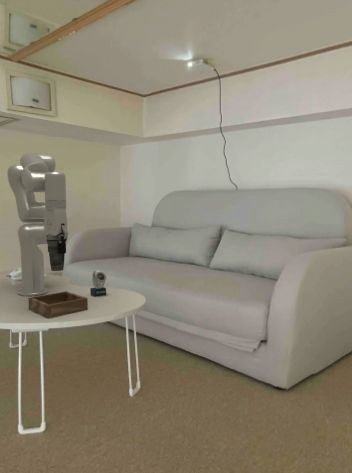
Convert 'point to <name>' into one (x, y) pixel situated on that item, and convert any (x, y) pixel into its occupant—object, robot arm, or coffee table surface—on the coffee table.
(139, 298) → the coffee table surface
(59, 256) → the beverage cup
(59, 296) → the walnut tray
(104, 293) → the watch
